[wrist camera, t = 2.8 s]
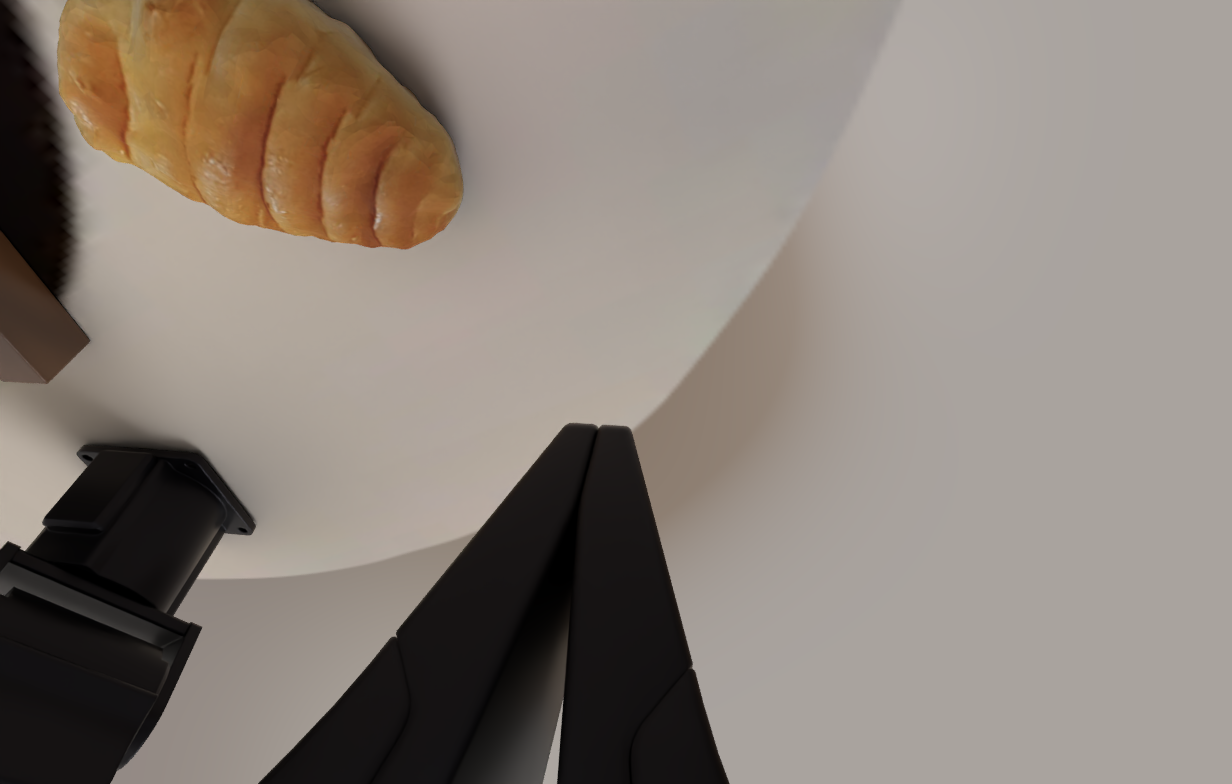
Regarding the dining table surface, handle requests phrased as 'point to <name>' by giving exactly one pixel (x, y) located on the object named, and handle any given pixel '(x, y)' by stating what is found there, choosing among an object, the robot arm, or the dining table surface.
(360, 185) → the pastry
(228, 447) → the dining table surface
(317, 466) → the dining table surface
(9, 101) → the dining table surface
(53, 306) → the strip
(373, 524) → the dining table surface
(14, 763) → the robot arm
